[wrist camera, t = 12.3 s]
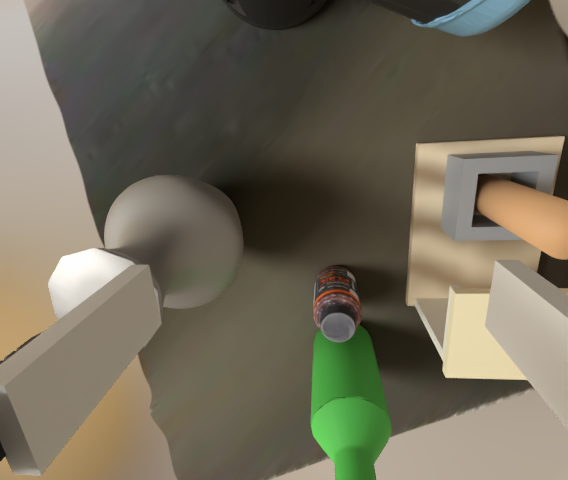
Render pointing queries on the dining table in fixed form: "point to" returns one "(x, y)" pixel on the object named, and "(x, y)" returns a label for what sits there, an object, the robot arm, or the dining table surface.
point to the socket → (463, 182)
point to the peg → (525, 213)
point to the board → (473, 254)
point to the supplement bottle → (337, 303)
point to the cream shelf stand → (466, 335)
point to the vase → (160, 245)
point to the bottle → (349, 404)
